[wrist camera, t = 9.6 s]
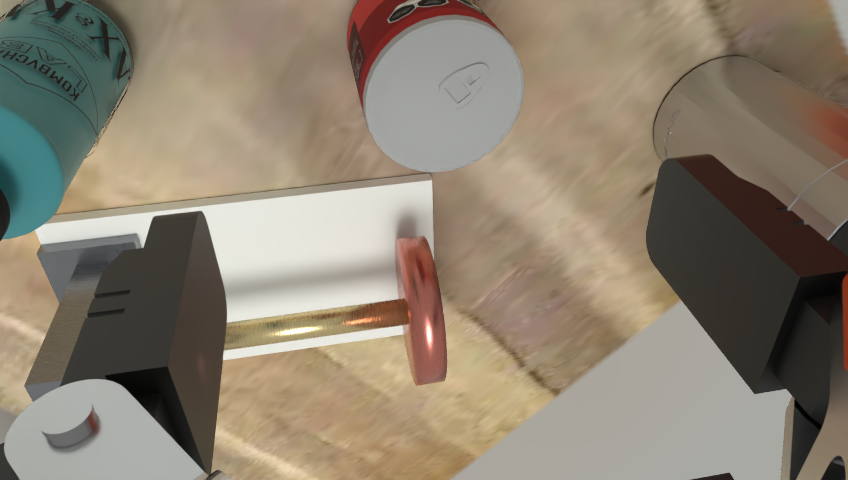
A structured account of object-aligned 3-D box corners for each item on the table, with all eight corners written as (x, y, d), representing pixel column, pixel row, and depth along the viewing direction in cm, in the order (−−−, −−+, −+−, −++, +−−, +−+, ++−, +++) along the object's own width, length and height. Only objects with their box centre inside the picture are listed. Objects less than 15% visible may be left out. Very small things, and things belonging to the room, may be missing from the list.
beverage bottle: (131, 109, 39) (27, 333, 23) (7, 76, 37) (-205, 299, 21) (149, 5, 36) (44, 180, 20) (15, -38, 34) (-225, 120, 18)
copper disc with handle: (417, 208, 46) (446, 298, 38) (421, 314, 51) (447, 412, 43) (153, 239, 43) (124, 342, 35) (189, 347, 49) (170, 457, 41)
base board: (429, 173, 46) (432, 180, 45) (433, 321, 54) (435, 329, 53) (37, 217, 42) (32, 225, 41) (104, 368, 50) (101, 377, 50)
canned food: (496, 10, 40) (557, 73, 31) (422, 113, 43) (458, 198, 34) (394, -66, 37) (430, -19, 28) (321, 53, 40) (333, 130, 31)
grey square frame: (136, 233, 43) (96, 357, 34) (177, 352, 49) (153, 484, 40) (41, 244, 42) (-28, 374, 33) (95, 363, 49) (50, 501, 39)
